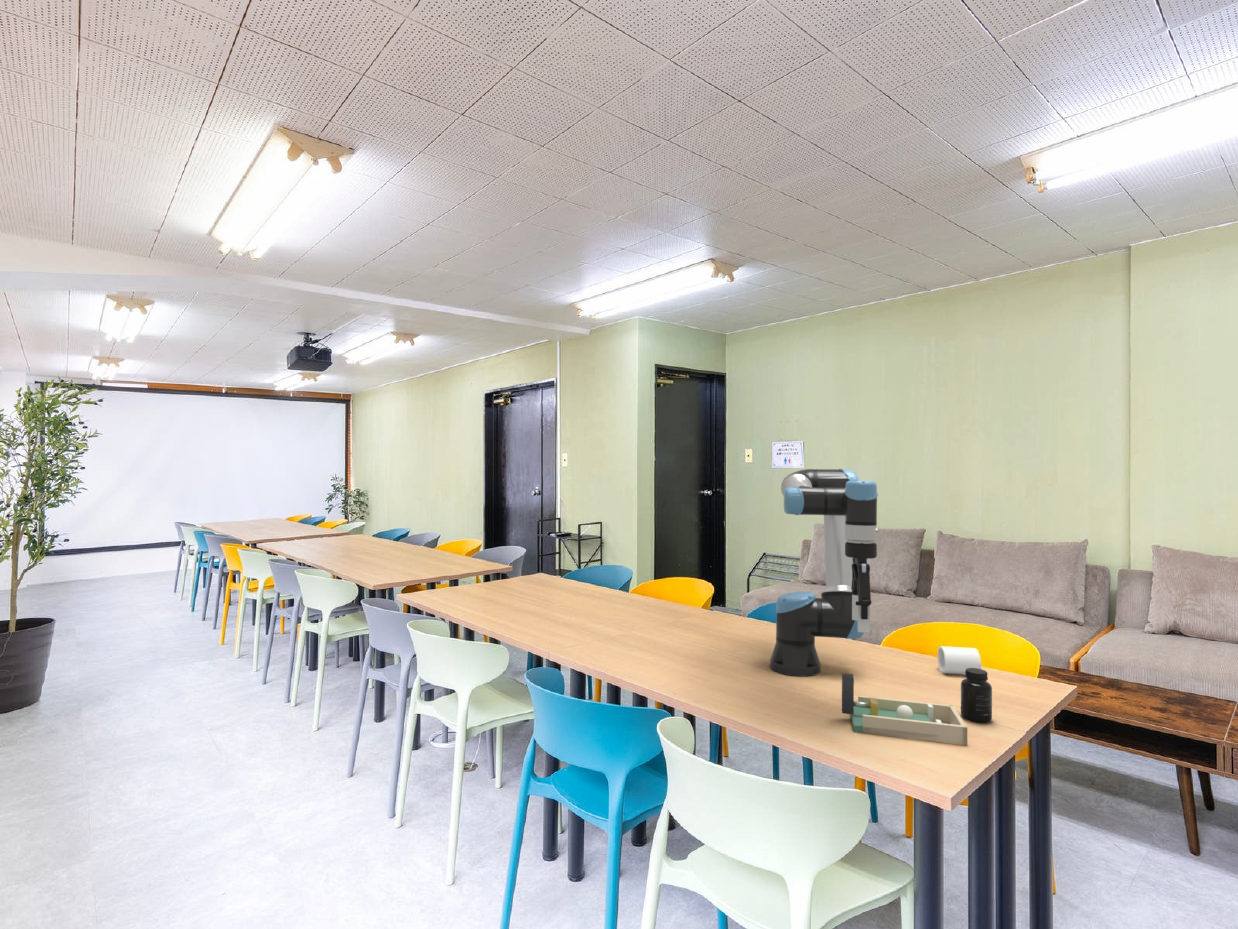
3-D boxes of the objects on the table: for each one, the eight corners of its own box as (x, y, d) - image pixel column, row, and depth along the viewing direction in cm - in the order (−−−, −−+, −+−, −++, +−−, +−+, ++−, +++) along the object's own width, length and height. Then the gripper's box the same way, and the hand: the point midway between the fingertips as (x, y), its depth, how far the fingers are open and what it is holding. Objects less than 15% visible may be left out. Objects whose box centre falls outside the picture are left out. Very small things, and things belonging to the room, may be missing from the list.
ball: (897, 722, 150) (897, 707, 150) (895, 716, 154) (895, 702, 154) (914, 724, 149) (914, 709, 149) (911, 718, 153) (911, 703, 153)
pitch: (854, 732, 148) (854, 715, 148) (849, 710, 161) (849, 694, 162) (967, 745, 141) (967, 727, 141) (953, 721, 155) (953, 705, 155)
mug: (981, 679, 187) (981, 652, 187) (945, 676, 189) (945, 650, 189) (967, 667, 199) (967, 641, 199) (933, 664, 201) (933, 639, 201)
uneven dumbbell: (842, 714, 154) (842, 677, 154) (841, 708, 157) (841, 672, 157) (878, 718, 151) (878, 681, 151) (876, 712, 155) (876, 675, 155)
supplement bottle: (954, 713, 160) (954, 666, 160) (980, 713, 161) (980, 666, 161) (972, 724, 153) (972, 675, 153) (998, 723, 154) (998, 674, 154)
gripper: (884, 547, 146) (883, 639, 145) (870, 537, 170) (870, 616, 169) (849, 546, 148) (849, 636, 147) (841, 536, 172) (840, 614, 171)
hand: (860, 626), depth 158 cm, fingers open, 13 cm apart
